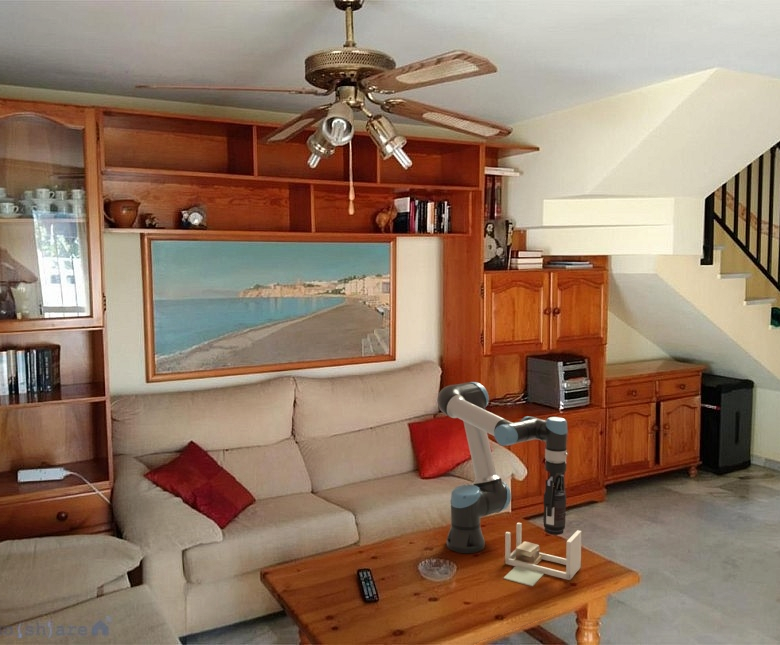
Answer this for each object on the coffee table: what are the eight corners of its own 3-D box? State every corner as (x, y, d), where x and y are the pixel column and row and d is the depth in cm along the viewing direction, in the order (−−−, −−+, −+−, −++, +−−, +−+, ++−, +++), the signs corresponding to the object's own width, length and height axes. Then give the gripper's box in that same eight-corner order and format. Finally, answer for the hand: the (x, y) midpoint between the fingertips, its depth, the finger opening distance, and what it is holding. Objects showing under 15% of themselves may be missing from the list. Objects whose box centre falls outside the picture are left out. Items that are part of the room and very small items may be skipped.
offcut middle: (515, 559, 263) (515, 552, 263) (521, 551, 269) (521, 545, 269) (533, 562, 259) (533, 556, 259) (539, 555, 266) (539, 549, 265)
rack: (505, 563, 263) (505, 527, 261) (517, 552, 273) (518, 517, 271) (570, 580, 249) (570, 542, 248) (580, 567, 259) (581, 531, 258)
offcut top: (515, 553, 262) (515, 548, 262) (524, 546, 268) (524, 541, 268) (530, 557, 259) (530, 551, 259) (539, 550, 265) (539, 544, 265)
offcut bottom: (513, 564, 263) (513, 558, 263) (521, 557, 270) (521, 551, 270) (533, 570, 259) (533, 563, 259) (541, 561, 266) (541, 555, 265)
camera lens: (563, 527, 261) (564, 488, 259) (566, 536, 253) (568, 496, 251) (541, 526, 262) (542, 487, 260) (544, 535, 254) (545, 495, 252)
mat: (503, 578, 251) (503, 577, 251) (515, 567, 260) (515, 565, 260) (532, 586, 245) (532, 585, 245) (544, 574, 254) (544, 573, 254)
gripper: (555, 469, 244) (554, 532, 246) (575, 454, 261) (573, 513, 264) (535, 466, 248) (533, 527, 250) (555, 451, 265) (554, 508, 268)
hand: (554, 520), depth 257 cm, fingers closed on camera lens, 8 cm apart
